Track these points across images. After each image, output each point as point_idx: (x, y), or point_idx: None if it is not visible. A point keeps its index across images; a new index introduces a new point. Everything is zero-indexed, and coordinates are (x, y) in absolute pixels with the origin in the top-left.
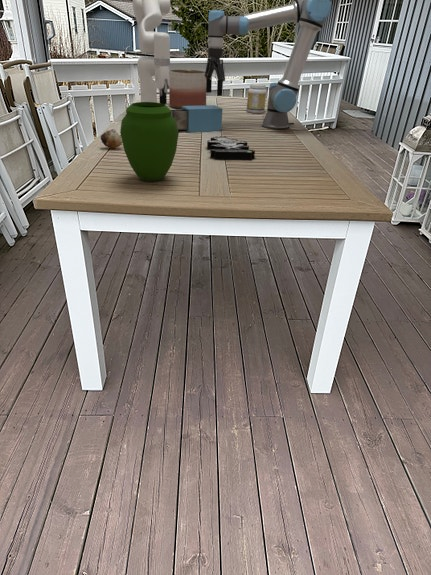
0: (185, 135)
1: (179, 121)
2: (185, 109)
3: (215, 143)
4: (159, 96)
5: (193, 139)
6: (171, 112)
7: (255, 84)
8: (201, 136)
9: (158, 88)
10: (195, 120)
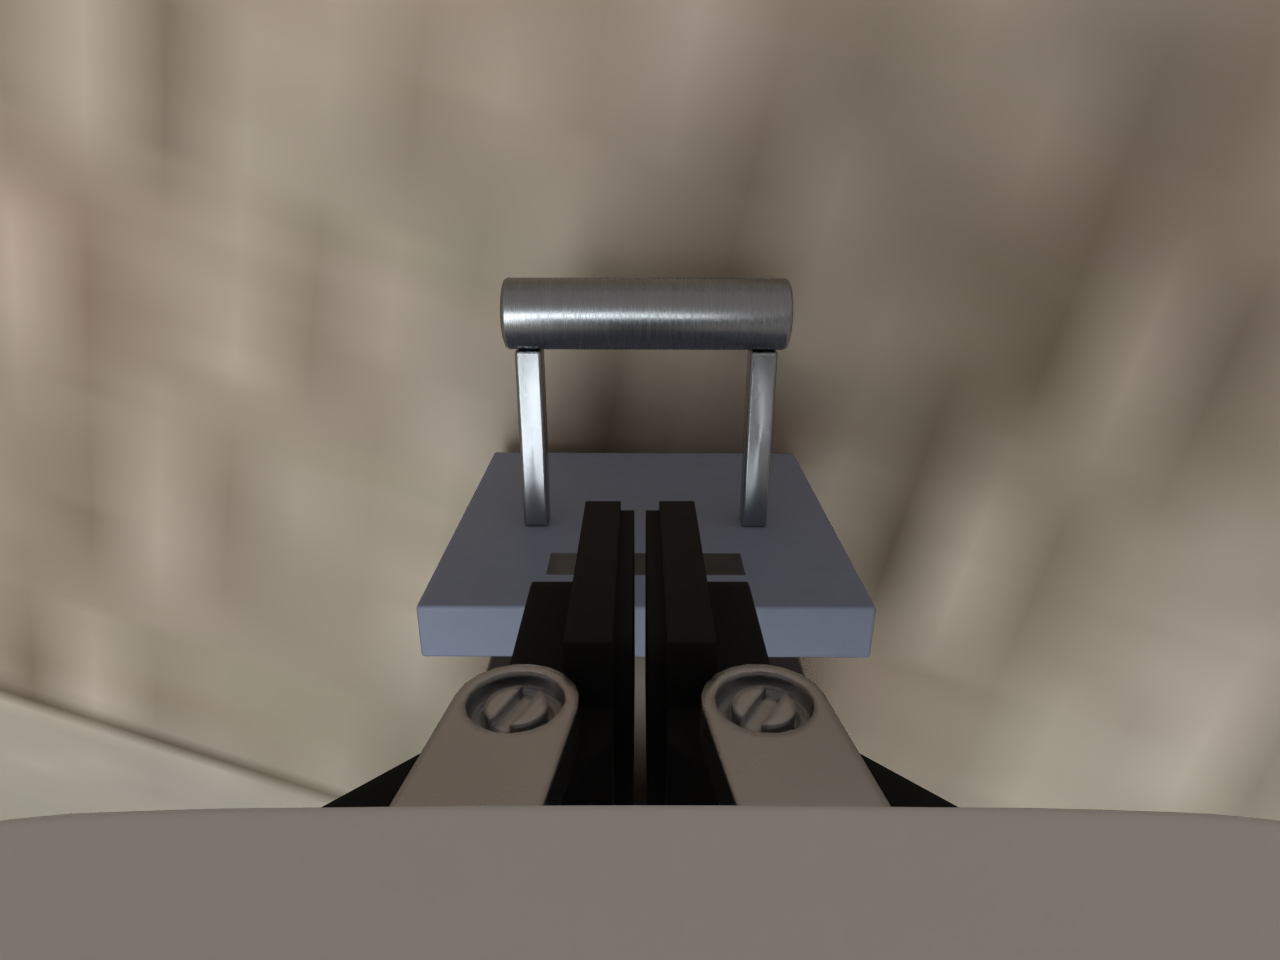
0: (309, 596)
1: None
2: None
3: None
4: (707, 613)
5: (45, 612)
6: (421, 628)
7: None
8: (232, 763)
9: (454, 810)
10: None
